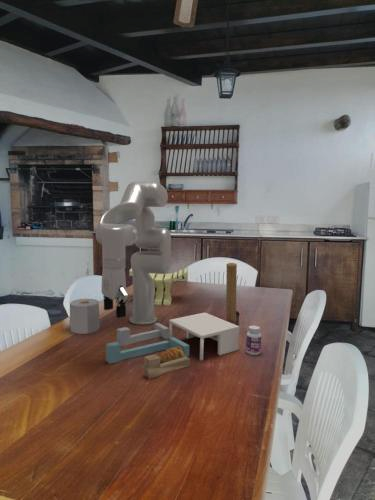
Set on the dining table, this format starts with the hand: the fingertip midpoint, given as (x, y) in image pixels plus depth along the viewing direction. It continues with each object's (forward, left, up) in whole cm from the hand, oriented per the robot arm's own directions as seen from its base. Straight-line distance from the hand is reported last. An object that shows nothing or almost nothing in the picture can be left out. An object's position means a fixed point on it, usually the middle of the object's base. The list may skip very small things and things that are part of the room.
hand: (114, 313), depth 129 cm
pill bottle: (+22, +45, -17) cm, 53 cm away
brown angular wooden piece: (+17, +11, -17) cm, 26 cm away
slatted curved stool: (-56, +53, -17) cm, 79 cm away
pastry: (+10, +17, -17) cm, 26 cm away
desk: (+7, +32, -17) cm, 37 cm away
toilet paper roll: (-35, +3, -17) cm, 39 cm away
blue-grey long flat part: (+6, +10, -16) cm, 20 cm away
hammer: (-1, +55, -17) cm, 57 cm away
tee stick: (-11, +17, -17) cm, 26 cm away
